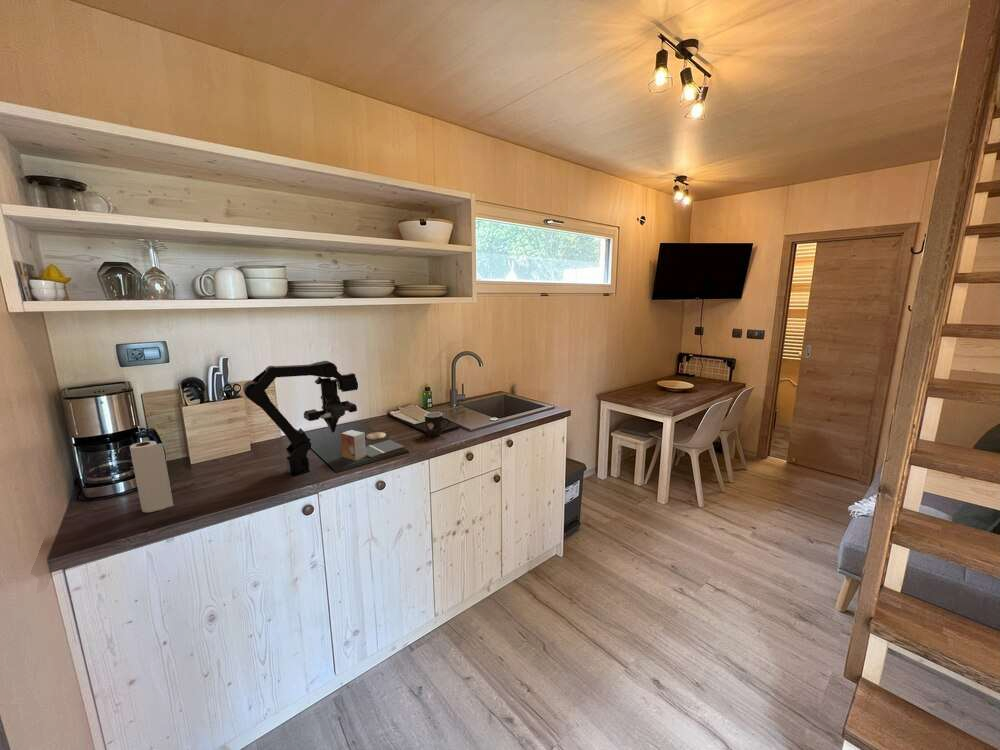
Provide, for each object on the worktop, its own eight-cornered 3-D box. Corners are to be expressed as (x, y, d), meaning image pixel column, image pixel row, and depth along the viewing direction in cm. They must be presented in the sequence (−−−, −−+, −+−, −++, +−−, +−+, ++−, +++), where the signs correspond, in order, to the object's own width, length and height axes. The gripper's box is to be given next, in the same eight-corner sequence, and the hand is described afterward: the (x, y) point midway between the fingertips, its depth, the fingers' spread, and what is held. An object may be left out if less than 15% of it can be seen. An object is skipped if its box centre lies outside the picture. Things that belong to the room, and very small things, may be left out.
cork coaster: (371, 441, 183) (371, 440, 183) (362, 436, 189) (362, 435, 189) (389, 436, 189) (389, 435, 189) (379, 431, 195) (379, 430, 195)
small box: (342, 457, 165) (340, 433, 163) (353, 452, 169) (351, 429, 167) (355, 461, 161) (353, 436, 159) (366, 456, 166) (364, 432, 163)
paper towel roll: (137, 510, 124) (125, 445, 120) (160, 501, 129) (149, 439, 125) (151, 515, 121) (138, 449, 117) (173, 506, 126) (162, 442, 122)
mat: (370, 458, 164) (370, 456, 164) (356, 450, 172) (356, 448, 172) (404, 447, 175) (404, 446, 175) (389, 440, 183) (389, 439, 183)
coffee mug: (421, 434, 191) (420, 414, 189) (435, 430, 198) (434, 410, 196) (437, 440, 184) (436, 419, 182) (451, 435, 190) (450, 415, 188)
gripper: (313, 402, 142) (317, 443, 145) (362, 393, 155) (365, 431, 158) (301, 396, 149) (305, 436, 152) (349, 388, 162) (352, 425, 166)
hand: (332, 432), depth 157 cm, fingers closed
